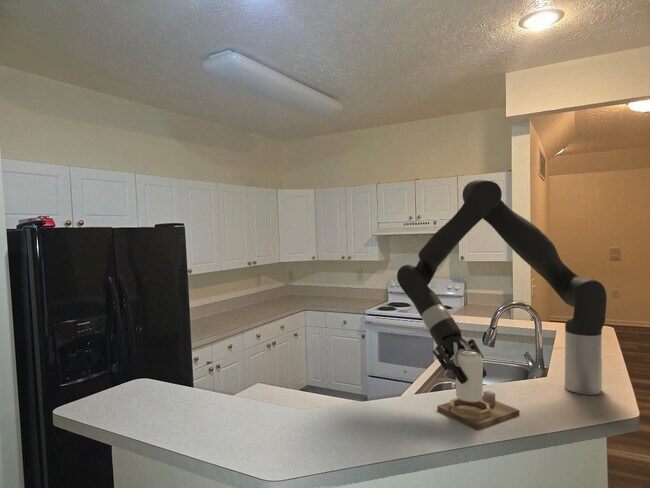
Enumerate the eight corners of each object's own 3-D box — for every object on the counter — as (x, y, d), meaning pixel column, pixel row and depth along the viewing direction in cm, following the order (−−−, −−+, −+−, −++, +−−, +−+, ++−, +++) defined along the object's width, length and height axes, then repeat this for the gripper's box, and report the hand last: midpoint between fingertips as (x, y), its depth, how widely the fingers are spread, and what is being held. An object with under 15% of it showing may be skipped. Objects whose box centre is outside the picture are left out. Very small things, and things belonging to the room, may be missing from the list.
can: (484, 404, 106) (484, 356, 105) (457, 402, 107) (457, 355, 107) (480, 394, 112) (480, 349, 112) (454, 392, 113) (455, 348, 113)
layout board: (478, 397, 121) (478, 383, 121) (519, 414, 110) (519, 398, 109) (437, 410, 113) (437, 394, 113) (477, 429, 101) (477, 412, 101)
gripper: (428, 319, 112) (463, 377, 102) (466, 314, 119) (502, 367, 109) (414, 335, 116) (446, 392, 107) (451, 329, 124) (484, 381, 114)
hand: (474, 379), depth 108 cm, fingers closed on can, 6 cm apart
